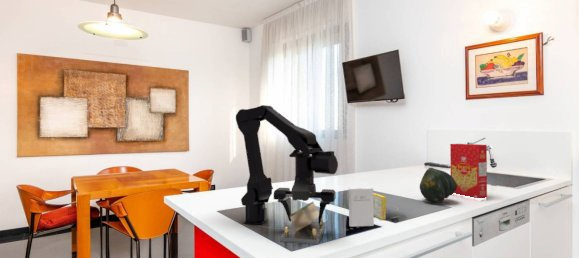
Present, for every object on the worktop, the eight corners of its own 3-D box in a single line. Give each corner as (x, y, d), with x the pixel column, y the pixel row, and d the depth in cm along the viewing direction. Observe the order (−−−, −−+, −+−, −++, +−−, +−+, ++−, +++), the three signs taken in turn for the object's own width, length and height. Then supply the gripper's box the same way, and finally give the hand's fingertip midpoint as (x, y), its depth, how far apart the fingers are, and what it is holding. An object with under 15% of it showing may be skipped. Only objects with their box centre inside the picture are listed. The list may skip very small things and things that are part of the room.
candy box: (386, 220, 116) (386, 196, 116) (381, 220, 116) (381, 197, 116) (365, 209, 132) (365, 188, 132) (360, 209, 131) (360, 189, 131)
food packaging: (450, 195, 158) (450, 143, 158) (458, 194, 160) (458, 143, 160) (478, 201, 145) (478, 145, 145) (486, 200, 147) (486, 144, 147)
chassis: (280, 241, 94) (280, 228, 94) (293, 223, 111) (293, 213, 111) (318, 244, 91) (318, 231, 91) (326, 225, 109) (325, 214, 109)
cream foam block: (297, 230, 100) (289, 215, 101) (308, 221, 110) (300, 208, 111) (310, 223, 98) (302, 208, 99) (320, 214, 109) (313, 201, 110)
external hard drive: (348, 225, 110) (348, 188, 110) (372, 224, 110) (372, 187, 110) (350, 226, 108) (349, 189, 108) (374, 225, 109) (373, 188, 109)
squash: (413, 202, 143) (413, 168, 143) (429, 197, 153) (429, 165, 153) (447, 208, 132) (446, 171, 132) (461, 202, 142) (461, 168, 142)
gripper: (268, 174, 96) (268, 227, 96) (331, 176, 91) (332, 232, 91) (278, 170, 107) (278, 217, 106) (335, 171, 102) (335, 221, 102)
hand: (304, 222), depth 101 cm, fingers open, 9 cm apart
